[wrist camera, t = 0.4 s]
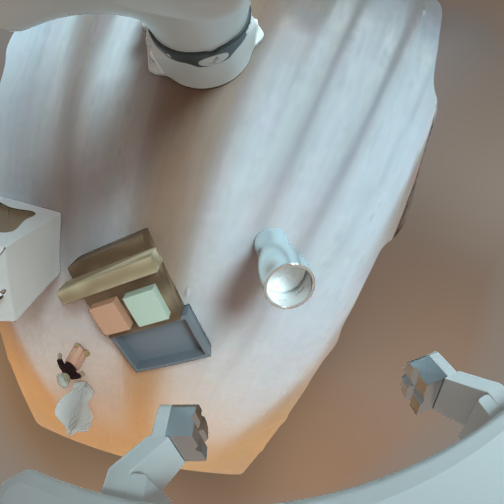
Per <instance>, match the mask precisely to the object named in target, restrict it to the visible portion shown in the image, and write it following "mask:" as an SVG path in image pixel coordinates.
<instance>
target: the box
mask: <svg viewBox="0 0 504 504" xmlns="http://www.w3.org/2000/svg"><path fill="white" fill-rule="evenodd" d="M111 339H112V340H113V342H114V343H115V344H116V346H117V347H118V349H119V350H120V351H121V353H122V354H123V355H124V357H125V358H126V359H127V361H128V362H129V363H130V365H131V366H132V367H133V368H134V370H135V371H136V372H141V371H146V370H151V369H157V368H161V367H166V366H171V365H176V364H180V363H185V362H189V361H193V360H197V359H202V358H206V357H210V356H211V344H210V342H209V340H208V338H207V336H206V335H205V333H204V331H203V329H202V327H201V325H200V323H199V322H198V320H197V318H196V316H195V314H194V312H193V310H192V308H191V306H190V304H187V305H184V306H183V311H182V315H181V320H177V321H174V322H170V323H166V324H163V325H159V326H155V327H152V328H148V329H144V330H140V331H137V332H133V333H129V334H125V335H121V336H117V337H113V338H111Z"/></svg>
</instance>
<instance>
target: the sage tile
mask: <svg viewBox="0 0 504 504" xmlns="http://www.w3.org/2000/svg"><path fill="white" fill-rule="evenodd" d="M123 301H124V303H125V305H126V306H127V308H128V310H129V311H130V313H131V315H132V316H133V318H134V319H135V321H136V323H137V324H138V326H139V327H141V326H145V325H149V324H152V323H156V322H160V321H163V320H167V319H169V316H170V313H171V312H170V310H169V308H168V306H167V305H166V303H165V301H164V299H163V297H162V295H161V294H160V292H159V290H158V288H157V286H156V284H152V285H149V286H146V287H143V288H139V289H136V290H133V291H130V292H127V293H126V294H125V295H124V297H123Z"/></svg>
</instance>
